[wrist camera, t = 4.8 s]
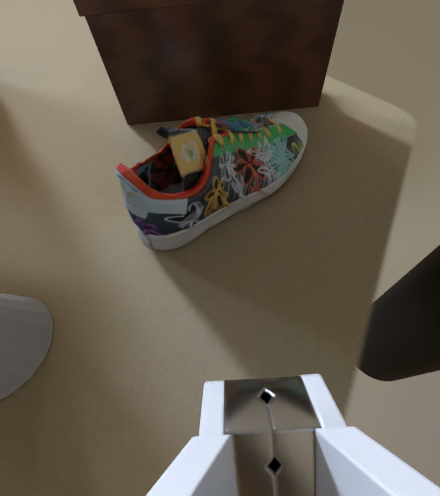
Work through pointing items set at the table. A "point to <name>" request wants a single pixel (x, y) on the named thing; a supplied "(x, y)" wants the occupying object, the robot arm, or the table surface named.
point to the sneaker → (209, 174)
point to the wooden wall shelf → (212, 54)
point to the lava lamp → (22, 340)
